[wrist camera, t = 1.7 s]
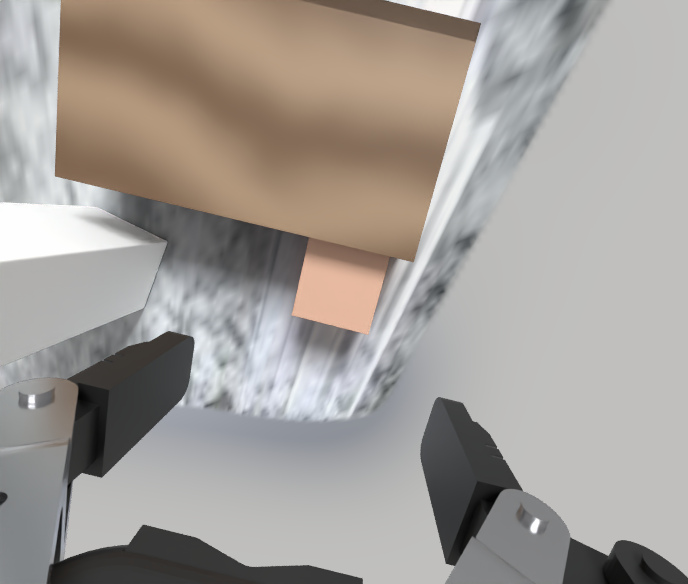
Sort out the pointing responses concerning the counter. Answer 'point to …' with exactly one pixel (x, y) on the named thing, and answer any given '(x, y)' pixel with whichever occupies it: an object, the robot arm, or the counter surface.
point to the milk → (68, 273)
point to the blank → (339, 285)
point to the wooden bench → (265, 110)
